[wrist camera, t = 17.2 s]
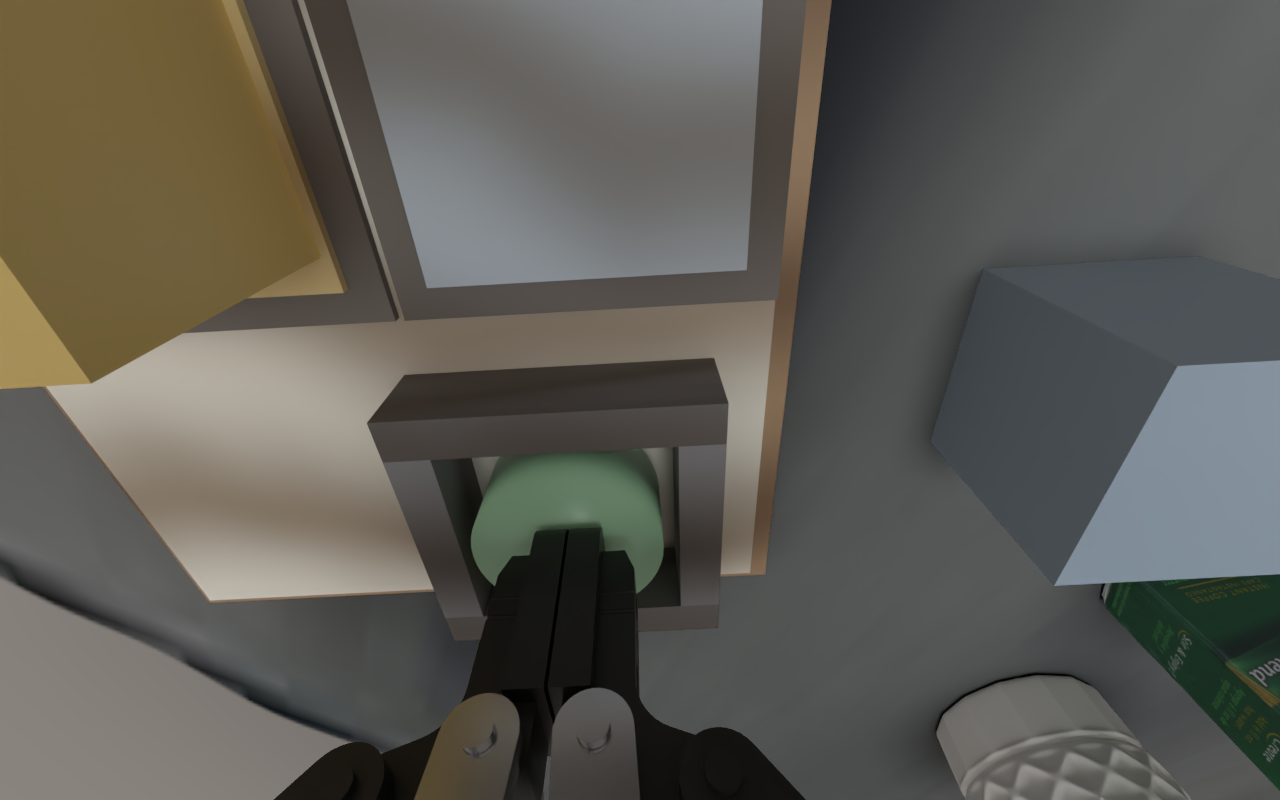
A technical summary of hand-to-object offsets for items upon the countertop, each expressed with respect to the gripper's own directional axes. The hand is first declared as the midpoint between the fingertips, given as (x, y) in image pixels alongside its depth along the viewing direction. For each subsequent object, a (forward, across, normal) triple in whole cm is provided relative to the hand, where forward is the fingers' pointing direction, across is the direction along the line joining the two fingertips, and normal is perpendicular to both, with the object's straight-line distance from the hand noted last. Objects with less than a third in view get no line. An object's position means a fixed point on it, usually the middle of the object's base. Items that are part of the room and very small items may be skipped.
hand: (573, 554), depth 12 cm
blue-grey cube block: (+3, -12, -3) cm, 13 cm away
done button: (+2, 0, 0) cm, 2 cm away
